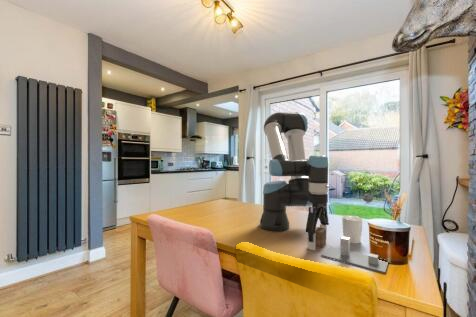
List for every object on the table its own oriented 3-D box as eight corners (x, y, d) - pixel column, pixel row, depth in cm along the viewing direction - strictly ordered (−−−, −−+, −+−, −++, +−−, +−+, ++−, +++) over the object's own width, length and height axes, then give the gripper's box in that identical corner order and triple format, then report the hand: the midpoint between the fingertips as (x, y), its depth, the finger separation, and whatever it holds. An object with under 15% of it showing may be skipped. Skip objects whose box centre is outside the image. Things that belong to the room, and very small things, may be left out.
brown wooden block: (308, 245, 96) (309, 229, 96) (313, 241, 100) (313, 226, 100) (321, 248, 93) (321, 231, 93) (325, 244, 97) (326, 228, 97)
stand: (321, 256, 86) (321, 248, 86) (329, 247, 94) (329, 240, 94) (385, 273, 73) (385, 264, 73) (388, 262, 81) (389, 253, 81)
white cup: (361, 245, 96) (361, 221, 96) (340, 241, 100) (340, 218, 100) (362, 239, 103) (363, 217, 103) (343, 236, 107) (343, 214, 107)
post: (340, 257, 85) (340, 238, 85) (342, 254, 87) (342, 236, 87) (348, 259, 84) (348, 239, 83) (349, 256, 86) (350, 237, 85)
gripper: (316, 198, 84) (315, 257, 85) (336, 190, 104) (335, 238, 104) (296, 195, 89) (296, 251, 89) (319, 188, 108) (319, 234, 109)
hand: (317, 244), depth 97 cm, fingers open, 12 cm apart
